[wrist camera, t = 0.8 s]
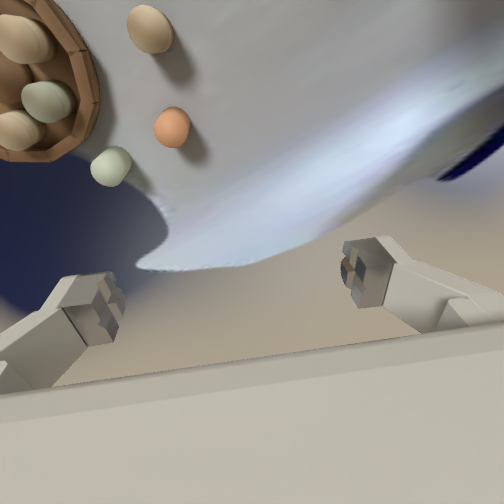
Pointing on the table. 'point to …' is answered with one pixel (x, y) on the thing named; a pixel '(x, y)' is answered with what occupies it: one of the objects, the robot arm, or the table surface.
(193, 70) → the table surface
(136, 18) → the tan egg
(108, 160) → the sage green egg
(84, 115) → the groove tray
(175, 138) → the orange egg
